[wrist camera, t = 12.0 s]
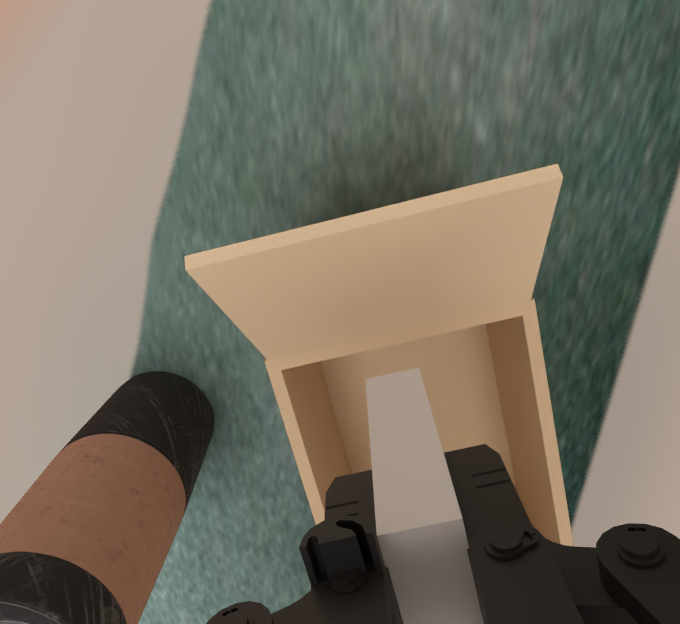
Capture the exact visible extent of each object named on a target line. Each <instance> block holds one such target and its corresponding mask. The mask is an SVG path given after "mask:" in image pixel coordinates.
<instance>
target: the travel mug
mask: <svg viewBox="0 0 680 624" xmlns="http://www.w3.org/2000/svg"><path fill="white" fill-rule="evenodd" d="M213 426H214V420H213V413H212V409H211V407H210V404H209V402H208V400H207V399H206V397H205V396H204V394H203V393H202V392H201V391H200V390H199V389H198V388H197V387H196V386H195V385H194V384H192V383H191V382H189V381H188V380H186V379H184V378H182V377H180V376H177V375H174V374H171V373H166V372H149V373H144V374H141V375H138V376H136V377H133V378H131V379H130V380H128V381H127V382H125V383H124V384H123V385H122V386H121V387H120V388H119V389H118V390H117V391H116V392H115V393H114V394H113V395H112V396H111V397H110V398H109V399H108V400H107V401H106V402H105V403H104V405H103V406H102V407H101V408H100V409H99V410H98V411H97V412H96V413H95V414H94V415H93V416H92V418H91V419H90V420H89V421H88V422H87V423H86V424H85V425H84V426H83V427H82V428H81V429H80V431H79V432H78V433H77V434H76V435H75V436H74V437H73V438H72V439H71V440H70V441H69V443H68V444H67V445H66V446H65V447H64V448H63V449H62V450H61V451H60V453H59V454H58V455H57V456H56V457H55V458H54V459H53V461H52V462H51V463H50V464H49V465H48V467H47V468H46V469H45V470H44V471H43V473H42V474H41V475H40V476H39V478H38V479H37V480H36V481H35V482H34V484H33V485H32V486H31V487H30V489H29V490H28V491H27V492H26V493H25V495H24V496H23V497H22V498H21V500H20V501H19V502H18V503H17V504H16V506H15V507H14V508H13V509H12V510H11V512H10V513H9V514H8V515H7V517H6V518H5V519H4V520H3V521H2V523H1V524H0V624H138V622H139V620H140V617H141V615H142V613H143V610H144V608H145V606H146V603H147V601H148V599H149V596H150V594H151V592H152V589H153V587H154V585H155V582H156V580H157V578H158V575H159V573H160V571H161V568H162V566H163V563H164V561H165V559H166V556H167V554H168V552H169V549H170V547H171V545H172V542H173V540H174V538H175V535H176V533H177V531H178V528H179V526H180V524H181V521H182V518H183V516H184V513H185V510H186V507H187V505H188V502H189V499H190V496H191V494H192V491H193V488H194V485H195V482H196V480H197V477H198V474H199V471H200V468H201V466H202V463H203V460H204V457H205V454H206V452H207V449H208V446H209V443H210V440H211V437H212V433H213Z"/></svg>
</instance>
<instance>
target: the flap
mask: <svg viewBox="0 0 680 624" xmlns="http://www.w3.org/2000/svg"><path fill="white" fill-rule="evenodd" d="M562 180H563V176H562V173H561V171H560V168H559V166H558V164H554V165H550V166H546V167H542V168H538V169H534V170H530V171H526V172H522V173H518V174H514V175H510V176H506V177H502V178H498V179H494V180H490V181H486V182H482V183H478V184H474V185H470V186H466V187H462V188H458V189H453V190H449V191H445V192H441V193H437V194H433V195H429V196H425V197H421V198H417V199H413V200H409V201H405V202H401V203H397V204H393V205H389V206H385V207H381V208H377V209H373V210H369V211H365V212H361V213H357V214H353V215H349V216H345V217H341V218H337V219H333V220H329V221H324V222H320V223H316V224H312V225H308V226H304V227H300V228H296V229H292V230H288V231H284V232H280V233H276V234H272V235H268V236H264V237H260V238H256V239H252V240H248V241H244V242H240V243H236V244H232V245H228V246H224V247H220V248H216V249H212V250H208V251H204V252H199V253H195V254H191V255H187V256H184V257H185V270H186V271H187V272H188V273H189V275H190V276H191V277H192V278H193V279H194V280H195V281H196V282H197V283H198V284H199V285H200V287H201V288H202V289H203V290H204V291H205V292H206V293H207V294H208V295H209V296H210V298H211V299H212V300H213V301H214V302H215V303H216V304H217V305H218V306H219V307H220V309H221V310H222V311H223V312H224V313H225V314H226V315H227V316H228V317H229V318H230V319H231V321H232V322H233V323H234V324H235V325H236V326H237V327H238V328H239V329H240V330H241V332H242V333H243V334H244V335H245V336H246V337H247V338H248V339H249V340H250V341H251V343H252V344H253V345H254V346H255V347H256V348H257V349H258V350H259V351H260V352H261V353H262V355H263V356H264V357H265V358H266V359H267V360H268V361H270V360H275V359H279V358H284V357H288V356H292V355H297V354H301V353H306V352H310V351H314V350H319V349H323V348H328V347H332V346H336V345H341V344H345V343H349V342H354V341H358V340H363V339H367V338H371V337H376V336H380V335H385V334H389V333H393V332H398V331H402V330H407V329H411V328H415V327H420V326H424V325H428V324H433V323H437V322H442V321H446V320H450V319H455V318H459V317H464V316H468V315H472V314H477V313H481V312H486V311H490V310H494V309H499V308H503V307H507V306H512V305H516V304H521V303H525V302H529V301H531V297H532V294H533V290H534V286H535V282H536V279H537V275H538V271H539V267H540V263H541V260H542V256H543V252H544V248H545V244H546V241H547V237H548V233H549V229H550V225H551V222H552V218H553V214H554V210H555V206H556V203H557V199H558V195H559V191H560V187H561V184H562Z"/></svg>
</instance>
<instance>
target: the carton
mask: <svg viewBox="0 0 680 624" xmlns="http://www.w3.org/2000/svg"><path fill="white" fill-rule="evenodd" d="M264 362H265V365H266V368H267V371H268V374H269V378H270V381H271V384H272V387H273V390H274V393H275V397H276V400H277V403H278V406H279V409H280V412H281V416H282V419H283V422H284V425H285V428H286V432H287V435H288V438H289V441H290V444H291V447H292V451H293V454H294V457H295V460H296V463H297V466H298V470H299V473H300V476H301V479H302V482H303V486H304V489H305V492H306V495H307V498H308V501H309V505H310V508H311V511H312V514H313V517H314V520H315V524H316V525H317V524H319V523H320V522H322V521H324V517H325V499H326V491H327V490H328V488H329V487H330V485H331V483H332V482H333V480H334V479H335V477H339V476H344V475H349V474H353V473H358V472H363V471H367V470H372V463H371V449H370V436H369V422H368V408H367V394H366V380H365V379H369V378H374V377H378V376H383V375H387V374H391V373H396V372H400V371H405V370H409V369H414V368H418V367H419V369H420V373H421V376H422V380H423V383H424V387H425V390H426V394H427V397H428V401H429V404H430V407H431V411H432V414H433V418H434V421H435V425H436V428H437V432H438V435H439V439H440V442H441V446H442V449H443V453H444V452H449V451H454V450H458V449H463V448H468V447H472V446H477V445H482V444H486V445H488V446H489V447H490V448H492V449H493V450H495V451H496V452H498V453H499V454H500V456H501V458H502V460H503V462H504V465H505V467H506V470H507V471H508V474H509V476H510V478H511V481H512V482H513V485H514V487H515V489H516V491H517V493H518V496H519V498H520V500H521V502H522V504H523V507H524V509H525V511H526V513H527V515H528V518H529V520H530V522H531V524H532V526H533V527H534V528H536V529H538V531H539V532H540V533H541V534H542V536H543V537H544V538H546V539H548V540H550V541H552V542H555V543H558V544H562V545H566V546H573V539H572V533H571V527H570V520H569V514H568V508H567V501H566V495H565V489H564V482H563V476H562V470H561V463H560V457H559V451H558V444H557V438H556V432H555V426H554V419H553V413H552V407H551V400H550V394H549V388H548V381H547V375H546V369H545V362H544V356H543V350H542V343H541V337H540V331H539V324H538V318H537V312H536V305H535V299H534V298H533V297H531V301H529V302H525V303H521V304H516V305H512V306H507V307H503V308H499V309H494V310H490V311H486V312H481V313H477V314H472V315H468V316H464V317H459V318H455V319H450V320H446V321H442V322H437V323H433V324H428V325H424V326H420V327H415V328H411V329H407V330H402V331H398V332H393V333H389V334H385V335H380V336H376V337H371V338H367V339H363V340H358V341H354V342H349V343H345V344H341V345H336V346H332V347H328V348H323V349H319V350H314V351H310V352H306V353H301V354H297V355H292V356H288V357H284V358H279V359H275V360H270V361H268V360H267V359H266V358H265V361H264Z"/></svg>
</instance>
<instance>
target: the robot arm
mask: <svg viewBox="0 0 680 624" xmlns="http://www.w3.org/2000/svg"><path fill="white" fill-rule="evenodd" d="M365 380H366V394H367V408H368V422H369V436H370V449H371V463H372V470H367V471H363V472H358V473H353V474H349V475H344V476H339V477H335V479H334V480H333V482H332V483H331V485H330V487H329V488H328V490H327V491H326V499H325V517H324V521H322V522H320V523H319V524H317V525H316V526H314V527H312V528H311V529H310V530H309V531H308V532H307V534H306V535H305V536H304V537H303V539H302V541H301V544H300V547H299V549H300V552H301V555H302V558H303V561H304V564H305V567H306V570H307V573H308V576H309V579H310V583H311V590H310V591H309V593H307V594H306V595H305V596H304V597H302V598H301V599H300V600H298V601H296V602H295V603H293V604H291V605H289V606H287V607H285V608H283V609H281V610H279V611H277V612H274V613H272V614H270V611H269V609H267V608H266V607H265V606H264V605H262V604H261V603H256V602H251V601H247V602H241V603H235V604H233V605H231V606H229V607H227V608H225V609H222V610H221V611H220V612H218V613H217V614H216V615H215V616H213V617H212V618H211V619H209V621H208V622H207V623H206V624H680V539H679V538H677V537H676V536H674V535H672V534H671V533H669V532H667V531H666V530H664V529H662V528H659V527H655V526H651V525H648V524H624V525H620V526H616V527H613V528H611V529H609V530H608V531H606V532H604V533H603V534H602V535H601V537H600V538H599V540H598V541H597V543H596V548H591V547H574V546H566V545H562V544H558V543H555V542H552V541H550V540H548V539H546V538H544V537H543V536H542V534H541V533H540V532H539V531H538V529H536V528H534V527H533V526H532V524H531V522H530V520H529V518H528V515H527V513H526V511H525V509H524V507H523V504H522V502H521V500H520V498H519V496H518V493H517V491H516V489H515V487H514V485H513V482H512V481H511V478H510V476H509V474H508V471H507V470H506V467H505V465H504V462H503V460H502V458H501V456H500V454H499V453H498V452H496V451H495V450H493V449H492V448H490V447H489V446H488V445H486V444H482V445H477V446H472V447H468V448H463V449H458V450H454V451H449V452H444V453H443V449H442V446H441V442H440V439H439V435H438V432H437V428H436V425H435V421H434V418H433V414H432V411H431V407H430V404H429V401H428V397H427V394H426V390H425V387H424V383H423V380H422V376H421V373H420V369H419V367H418V368H414V369H409V370H405V371H400V372H396V373H391V374H387V375H383V376H378V377H374V378H369V379H365Z"/></svg>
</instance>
